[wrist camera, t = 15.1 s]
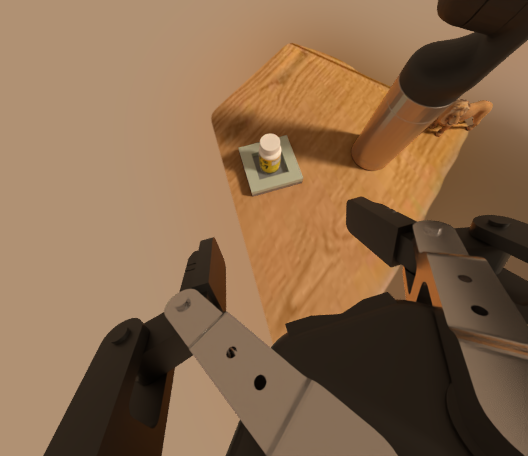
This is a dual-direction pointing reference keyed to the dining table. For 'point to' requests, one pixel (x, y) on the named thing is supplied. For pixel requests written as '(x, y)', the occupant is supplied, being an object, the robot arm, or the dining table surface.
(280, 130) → the dining table surface
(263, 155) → the supplement bottle
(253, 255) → the dining table surface
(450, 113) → the lion figurine
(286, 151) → the recess plate
